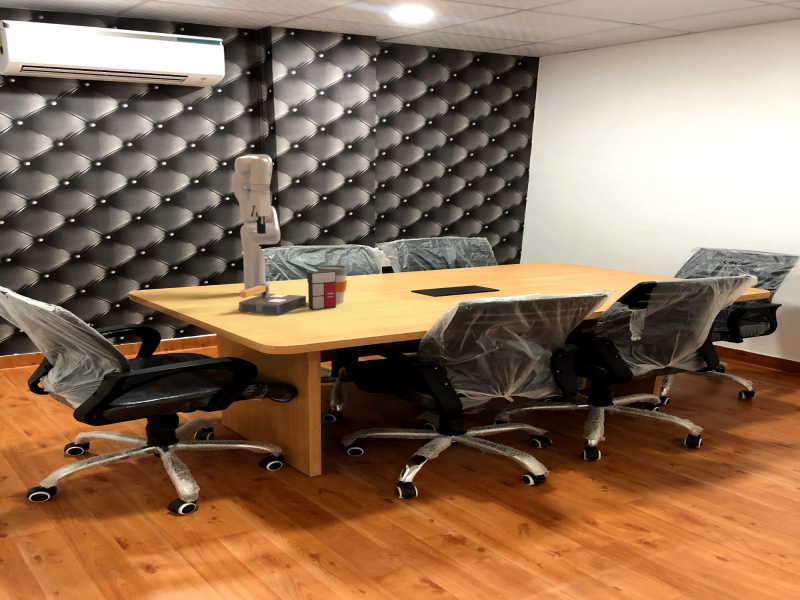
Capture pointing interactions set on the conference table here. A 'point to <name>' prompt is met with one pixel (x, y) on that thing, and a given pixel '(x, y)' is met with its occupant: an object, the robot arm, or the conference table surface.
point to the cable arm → (255, 290)
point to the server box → (272, 304)
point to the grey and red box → (321, 289)
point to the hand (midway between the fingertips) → (261, 233)
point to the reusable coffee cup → (338, 280)
